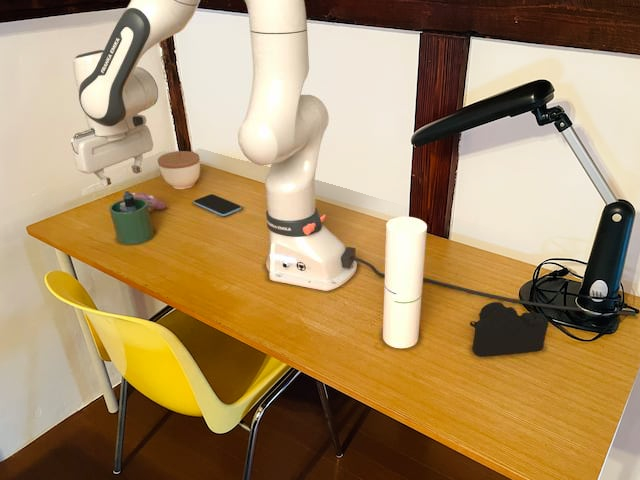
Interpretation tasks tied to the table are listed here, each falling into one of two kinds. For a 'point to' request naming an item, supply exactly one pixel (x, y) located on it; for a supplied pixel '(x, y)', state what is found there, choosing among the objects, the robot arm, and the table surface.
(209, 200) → the smartphone
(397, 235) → the cylindrical container
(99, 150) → the robot arm
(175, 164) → the lidded bowl
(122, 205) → the vaping device
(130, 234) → the pen cup
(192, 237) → the table surface
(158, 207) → the video game controller
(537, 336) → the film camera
